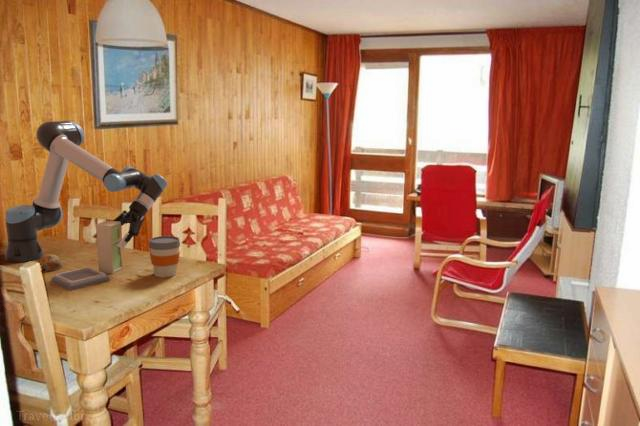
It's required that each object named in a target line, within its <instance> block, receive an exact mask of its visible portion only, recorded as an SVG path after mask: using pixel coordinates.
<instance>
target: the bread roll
mask: <svg viewBox="0 0 640 426" xmlns="http://www.w3.org/2000/svg"><path fill="white" fill-rule="evenodd" d="M37 262H39V263H40V265H41V268H42V271H45V272H54V271H58V270H60V269H61V268H63V267H64V266H63V262H62V259H61V258H60V257H59V256H58V255H55V254H50V253H49V254H43V256H42V257H41V258H39V259H37V261H36V263H37ZM42 271H41V272H42Z"/></svg>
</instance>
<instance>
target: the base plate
mask: <svg viewBox="0 0 640 426" xmlns="http://www.w3.org/2000/svg"><path fill="white" fill-rule="evenodd" d="M50 279H51V280H50V281H51V282H53V283H54V284H56V285H59V286H60V285H61V286H60V287H63V288H64V289H66V290H68V289H69V290H68V291H72V290H76V289H77V290H78V289H81V288H85V287H89V286H93V285H97V284H100V283H106V282H109V281H111V277H110V276H109V275H107V273H102V272H100V271H99V269H96V268H93V267H91V266H86V267H82V268H81V267H80V268H77V269H72V270H69V271H64V272H59V273H55V274H54V276H52V277H50Z"/></svg>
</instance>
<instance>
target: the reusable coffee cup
mask: <svg viewBox="0 0 640 426" xmlns="http://www.w3.org/2000/svg"><path fill="white" fill-rule="evenodd" d="M148 240H149V241H148V242H149V243H148V248H149V250H150V253H149V257H150V262H151V263H150V264H151V265H152V267H153V271H154V272H153V273H154V276H155V277H156V278H157V277H159V278H169V277H174V276H175V275H177V274H178V264H179V261H180V252H181V251H180V246H181V243H180V242H181V241H180V238H179V236H178V237H177V236H172V235H163V236H162V235H161V236H155V237H151V238H150V239H148Z"/></svg>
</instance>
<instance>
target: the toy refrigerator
mask: <svg viewBox="0 0 640 426" xmlns="http://www.w3.org/2000/svg"><path fill="white" fill-rule="evenodd" d="M95 229H96V245H97V259H98V271H100V272H102V273H105V274H112V275H113V274H115V273H117V272H119V271H120V270H123V269H124V261H123V250H122V249H121V248H119V247H118V246H117V245H118V244H119V243H120V241H121V240H122V239H123V237H122V226H121V222H119V221H113V220H104V221H102V222H98V223H96V225H95Z"/></svg>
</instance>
